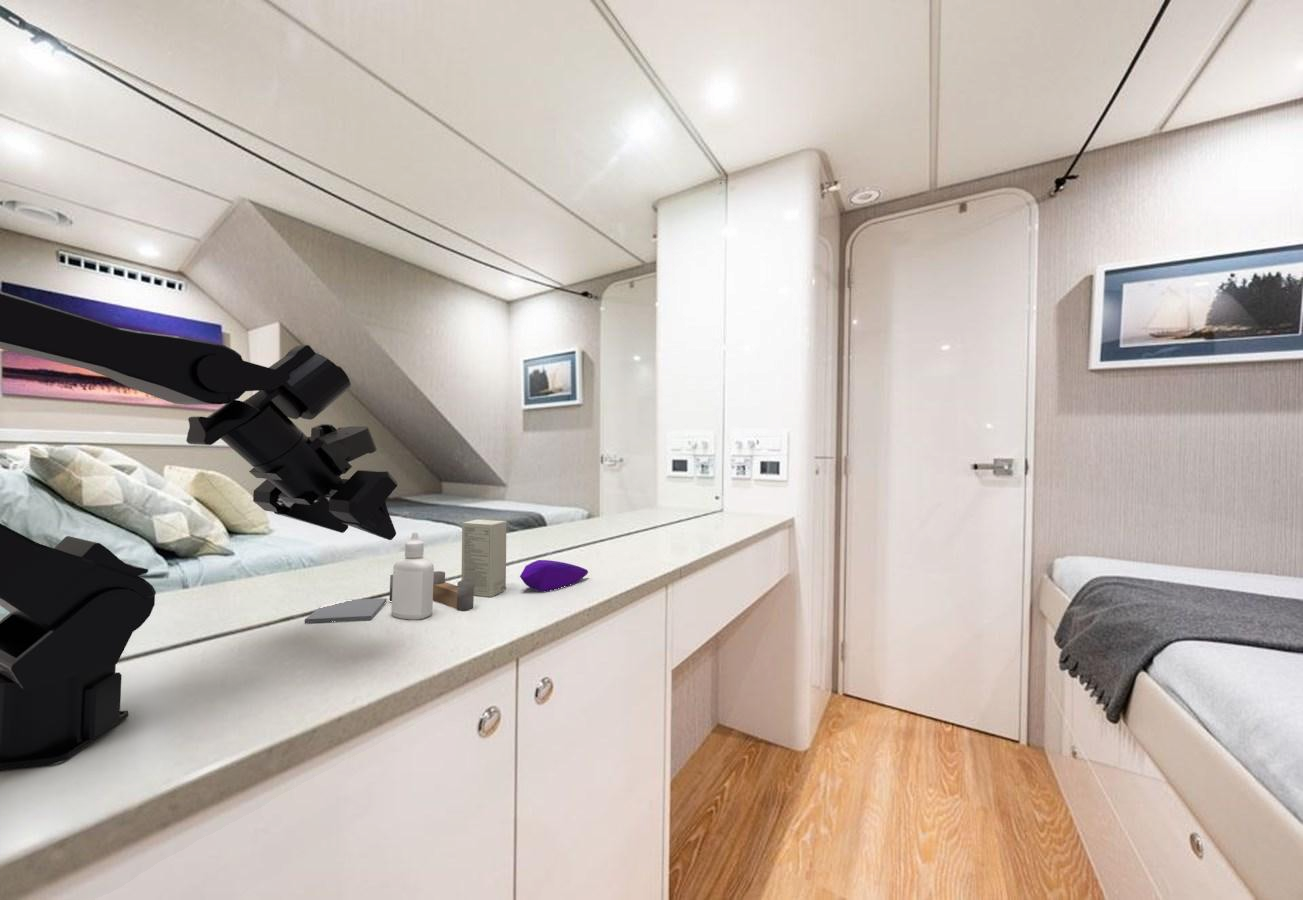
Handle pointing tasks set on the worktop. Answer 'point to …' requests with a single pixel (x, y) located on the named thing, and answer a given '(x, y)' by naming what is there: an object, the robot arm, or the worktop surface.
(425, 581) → the eye dropper bottle
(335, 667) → the worktop surface
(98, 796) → the worktop surface
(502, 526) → the skincare box
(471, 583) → the rail
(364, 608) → the coaster
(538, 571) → the purple faceted pebble
